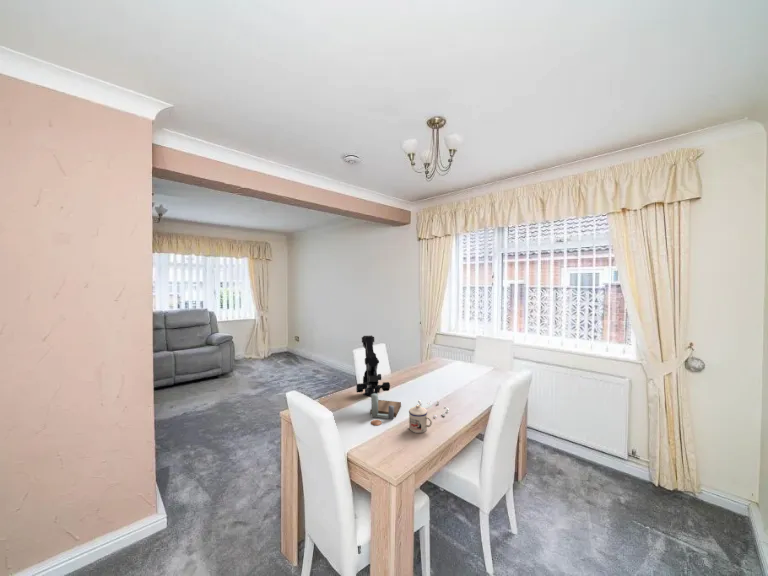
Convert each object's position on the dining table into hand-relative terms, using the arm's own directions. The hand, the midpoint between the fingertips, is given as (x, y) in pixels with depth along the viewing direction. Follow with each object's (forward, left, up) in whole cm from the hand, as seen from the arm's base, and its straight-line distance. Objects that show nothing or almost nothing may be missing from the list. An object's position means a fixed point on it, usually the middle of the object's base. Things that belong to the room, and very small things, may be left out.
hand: (374, 402), depth 160 cm
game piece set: (-19, +26, -7) cm, 33 cm away
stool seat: (-2, +5, -7) cm, 9 cm away
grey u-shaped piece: (+1, +6, -6) cm, 9 cm away
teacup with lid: (+4, +28, -7) cm, 29 cm away
